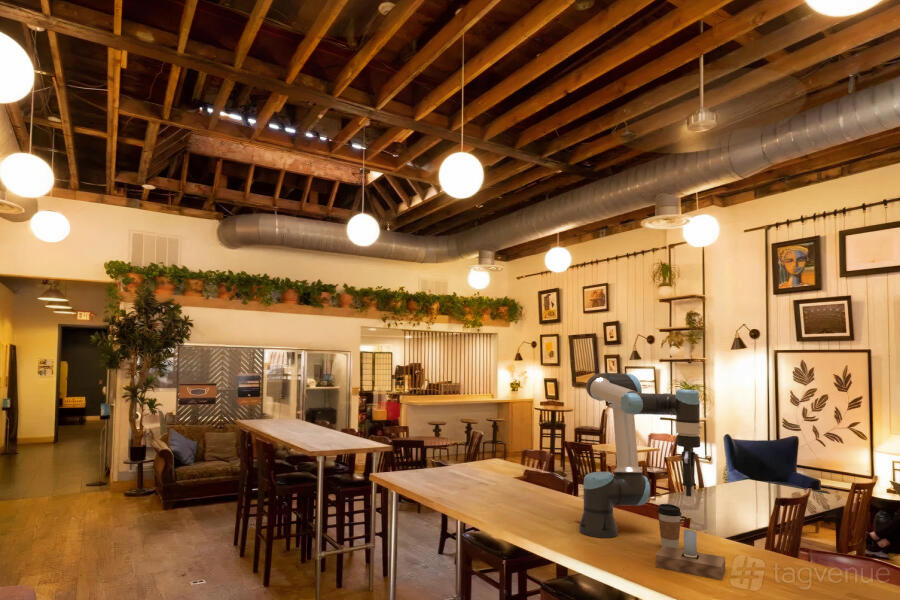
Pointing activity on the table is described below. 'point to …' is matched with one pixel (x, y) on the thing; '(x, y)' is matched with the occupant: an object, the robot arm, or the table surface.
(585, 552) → the table surface
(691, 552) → the peg
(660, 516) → the coffee cup
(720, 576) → the board
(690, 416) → the robot arm
